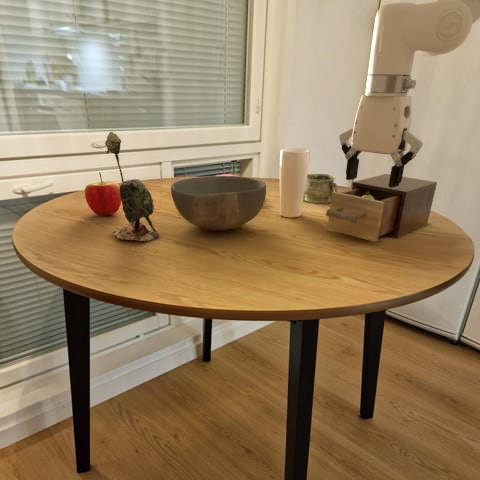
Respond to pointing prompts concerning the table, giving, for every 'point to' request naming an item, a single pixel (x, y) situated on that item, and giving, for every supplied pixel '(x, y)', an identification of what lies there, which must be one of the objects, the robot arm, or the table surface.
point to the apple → (103, 197)
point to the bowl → (218, 200)
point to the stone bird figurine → (132, 202)
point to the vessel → (319, 188)
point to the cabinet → (405, 200)
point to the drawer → (363, 213)
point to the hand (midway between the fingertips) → (371, 182)
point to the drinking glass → (293, 180)
